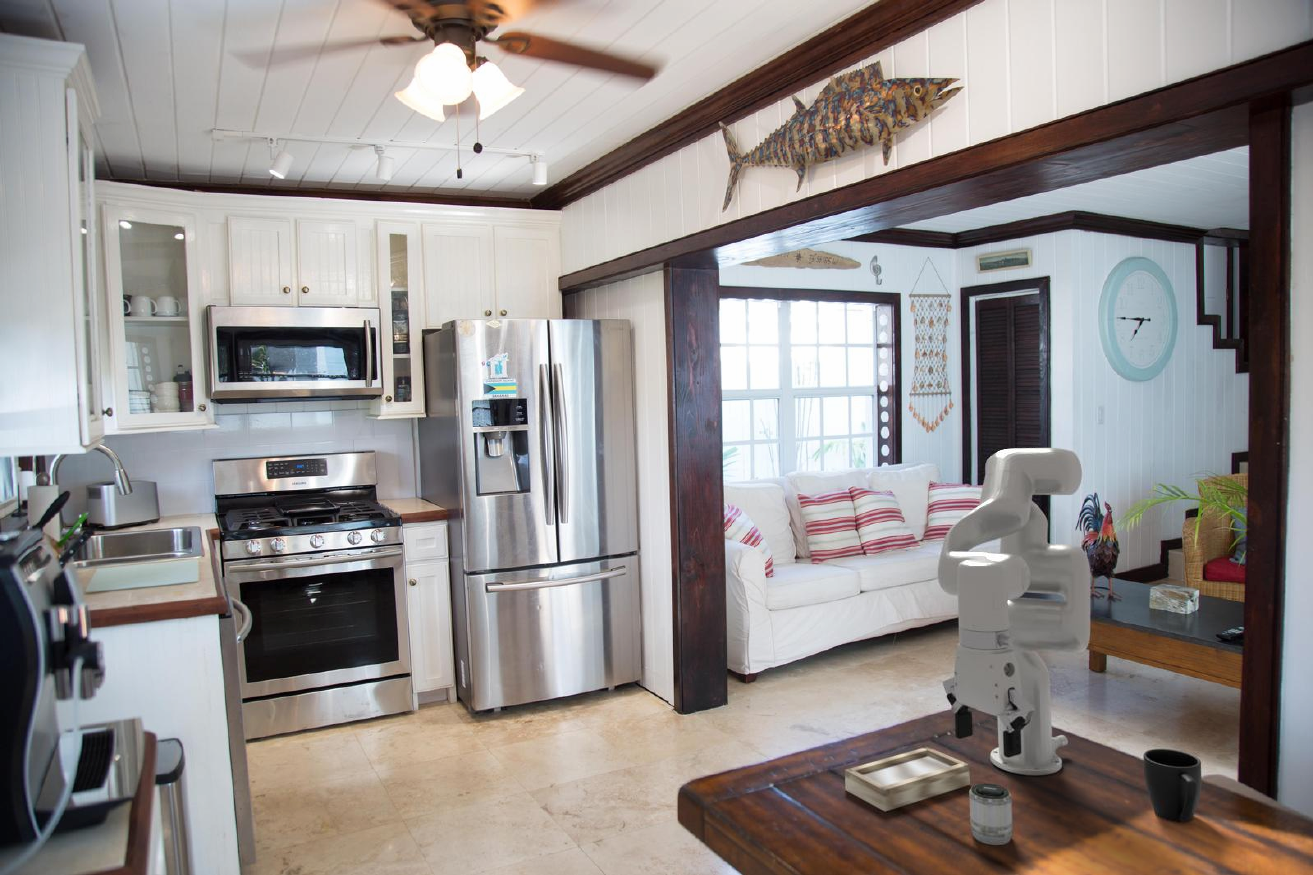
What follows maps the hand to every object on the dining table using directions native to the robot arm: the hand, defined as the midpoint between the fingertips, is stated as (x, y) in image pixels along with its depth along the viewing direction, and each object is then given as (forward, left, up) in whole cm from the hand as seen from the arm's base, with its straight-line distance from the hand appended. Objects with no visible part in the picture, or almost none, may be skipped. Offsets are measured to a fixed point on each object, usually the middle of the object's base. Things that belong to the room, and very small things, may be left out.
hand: (987, 745), depth 140 cm
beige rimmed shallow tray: (-2, -21, -15) cm, 26 cm away
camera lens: (0, 0, -15) cm, 15 cm away
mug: (-29, +12, -15) cm, 35 cm away
